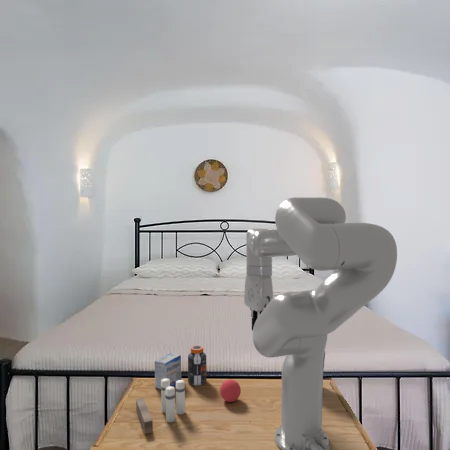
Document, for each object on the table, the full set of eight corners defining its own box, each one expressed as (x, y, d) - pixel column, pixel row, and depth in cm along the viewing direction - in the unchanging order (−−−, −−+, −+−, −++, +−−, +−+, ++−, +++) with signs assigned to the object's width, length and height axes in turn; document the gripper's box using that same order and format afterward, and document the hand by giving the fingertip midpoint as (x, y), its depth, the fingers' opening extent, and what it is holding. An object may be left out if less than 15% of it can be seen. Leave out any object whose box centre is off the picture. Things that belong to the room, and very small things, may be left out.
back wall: (152, 432, 94) (152, 420, 93) (144, 434, 93) (144, 422, 93) (143, 408, 105) (143, 397, 104) (136, 409, 104) (136, 399, 104)
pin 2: (176, 421, 98) (176, 389, 98) (167, 423, 97) (166, 391, 97) (173, 416, 101) (173, 385, 100) (164, 418, 100) (164, 387, 99)
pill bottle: (203, 386, 117) (203, 351, 116) (185, 385, 118) (185, 350, 117) (208, 378, 123) (208, 344, 122) (191, 376, 124) (190, 343, 123)
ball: (244, 403, 107) (244, 382, 107) (224, 407, 105) (224, 387, 104) (235, 393, 112) (235, 374, 112) (216, 397, 110) (216, 378, 110)
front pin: (186, 413, 102) (185, 383, 101) (177, 415, 101) (177, 384, 100) (183, 408, 104) (183, 379, 104) (174, 410, 103) (174, 380, 103)
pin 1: (171, 411, 103) (171, 381, 102) (162, 413, 102) (162, 383, 101) (169, 407, 105) (168, 377, 105) (160, 409, 104) (159, 379, 104)
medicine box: (165, 391, 114) (165, 363, 114) (154, 387, 116) (154, 360, 116) (181, 381, 121) (181, 354, 120) (171, 377, 123) (170, 352, 123)
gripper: (236, 267, 116) (236, 325, 117) (261, 276, 101) (261, 342, 102) (257, 265, 119) (257, 322, 120) (284, 274, 104) (284, 338, 105)
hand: (259, 331), depth 111 cm, fingers closed
